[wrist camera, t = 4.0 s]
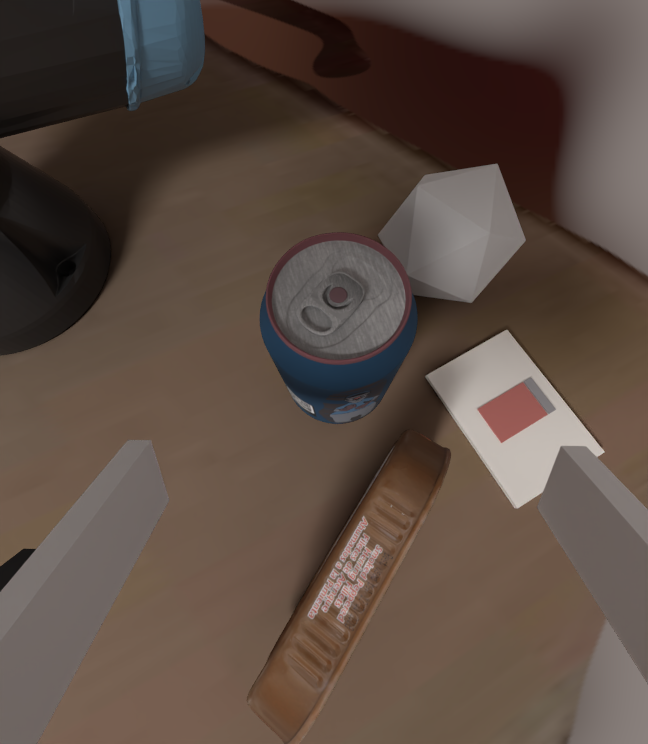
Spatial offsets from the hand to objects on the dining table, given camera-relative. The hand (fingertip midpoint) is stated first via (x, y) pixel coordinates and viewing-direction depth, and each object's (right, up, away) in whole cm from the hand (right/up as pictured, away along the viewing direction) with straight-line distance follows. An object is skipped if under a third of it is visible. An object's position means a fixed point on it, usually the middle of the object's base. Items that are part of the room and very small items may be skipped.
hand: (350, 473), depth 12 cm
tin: (+1, -8, +10) cm, 13 cm away
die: (+8, +11, +16) cm, 21 cm away
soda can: (0, +3, +14) cm, 14 cm away
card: (+12, +1, +12) cm, 17 cm away
